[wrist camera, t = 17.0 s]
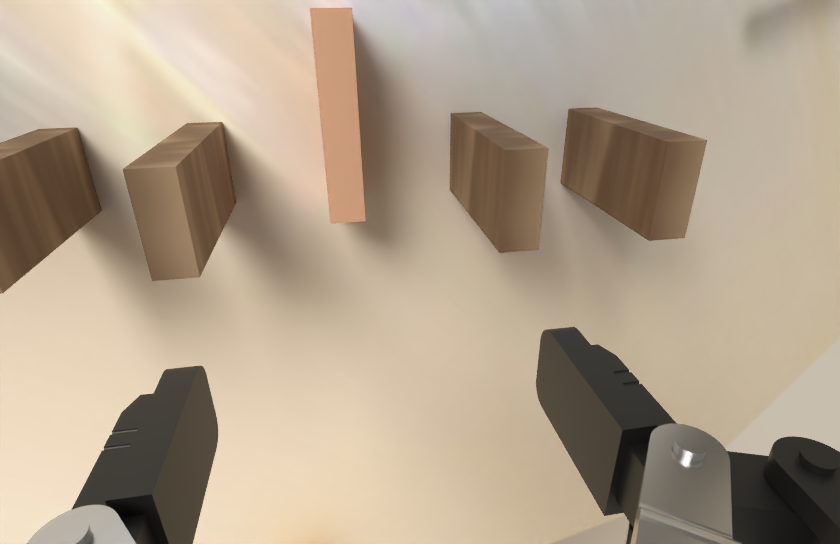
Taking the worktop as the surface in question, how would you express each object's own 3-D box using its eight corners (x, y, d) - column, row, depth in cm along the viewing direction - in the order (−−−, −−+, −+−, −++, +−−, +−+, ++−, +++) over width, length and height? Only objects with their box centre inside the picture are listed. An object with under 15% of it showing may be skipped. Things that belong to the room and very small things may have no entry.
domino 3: (359, 196, 34) (347, 10, 29) (365, 221, 30) (351, 7, 25) (329, 198, 34) (311, 11, 29) (330, 223, 29) (310, 8, 25)
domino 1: (77, 127, 29) (-46, 178, 20) (101, 210, 32) (2, 293, 22) (38, 129, 29) (-105, 181, 19) (66, 212, 31) (-51, 297, 21)
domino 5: (597, 107, 34) (707, 140, 24) (587, 181, 36) (684, 237, 26) (568, 108, 34) (668, 142, 24) (560, 182, 36) (649, 240, 26)
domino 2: (222, 122, 31) (175, 166, 21) (236, 202, 33) (199, 277, 23) (186, 123, 30) (122, 169, 20) (203, 204, 32) (152, 280, 23)
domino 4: (481, 112, 33) (548, 148, 23) (478, 187, 35) (538, 249, 25) (451, 113, 33) (505, 150, 23) (449, 189, 35) (499, 252, 25)
